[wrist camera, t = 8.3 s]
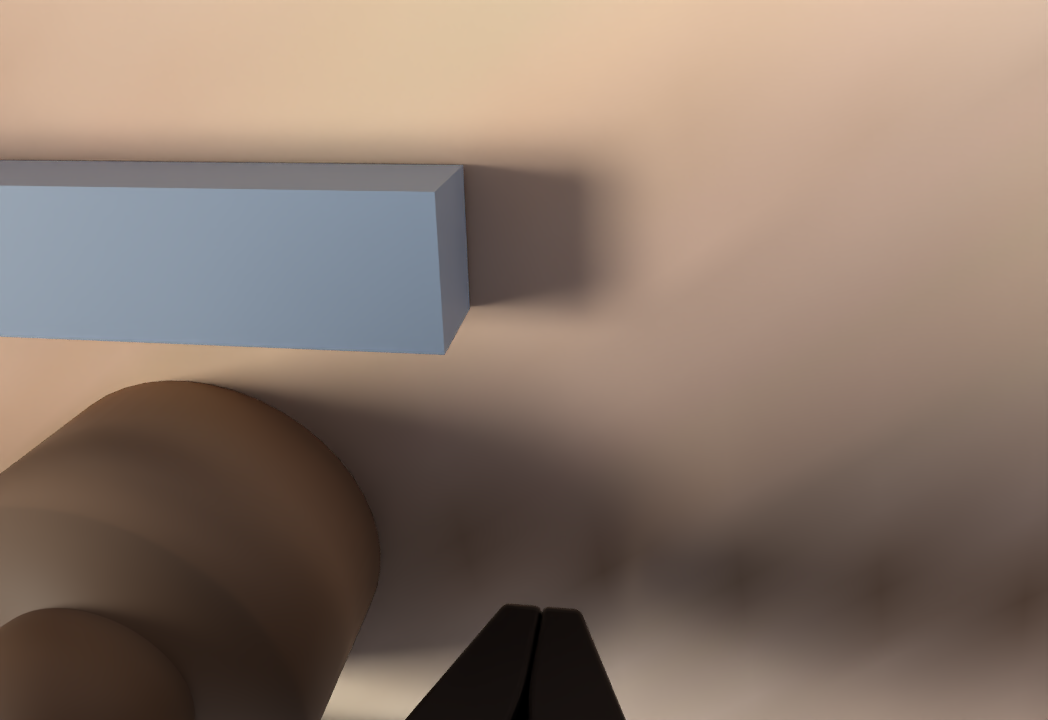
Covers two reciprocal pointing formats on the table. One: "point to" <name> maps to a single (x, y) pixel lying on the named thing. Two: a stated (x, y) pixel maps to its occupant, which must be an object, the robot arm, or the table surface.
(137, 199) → the lane
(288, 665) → the pawn
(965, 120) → the table surface
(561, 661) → the robot arm
